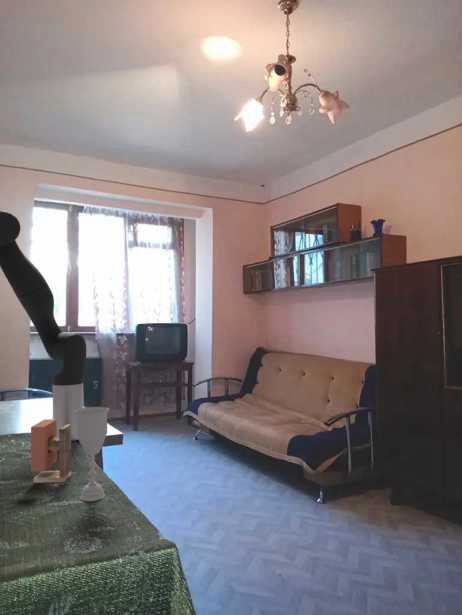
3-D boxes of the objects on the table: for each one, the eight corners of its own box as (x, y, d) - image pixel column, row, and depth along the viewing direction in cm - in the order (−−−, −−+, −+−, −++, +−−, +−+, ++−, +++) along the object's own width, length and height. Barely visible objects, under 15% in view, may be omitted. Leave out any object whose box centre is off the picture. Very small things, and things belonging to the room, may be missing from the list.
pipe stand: (41, 475, 111) (41, 425, 111) (71, 474, 111) (70, 424, 111) (33, 482, 106) (33, 430, 106) (64, 481, 106) (63, 429, 106)
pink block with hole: (44, 460, 112) (44, 419, 112) (56, 460, 112) (56, 419, 112) (31, 471, 104) (30, 427, 104) (44, 471, 104) (44, 426, 105)
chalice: (116, 492, 99) (116, 407, 99) (97, 504, 92) (97, 414, 93) (88, 489, 101) (87, 406, 101) (67, 500, 94) (66, 412, 95)
